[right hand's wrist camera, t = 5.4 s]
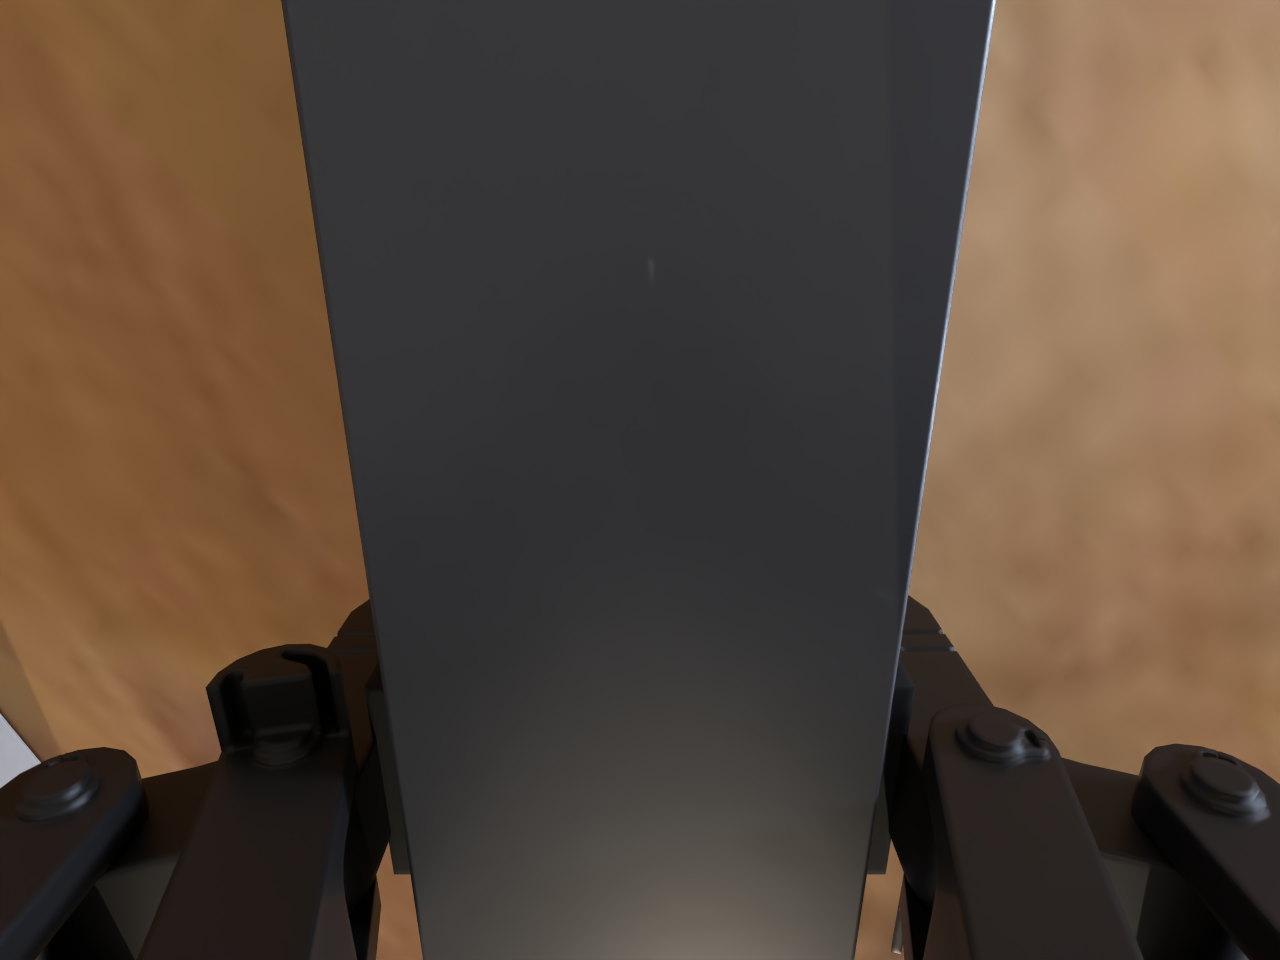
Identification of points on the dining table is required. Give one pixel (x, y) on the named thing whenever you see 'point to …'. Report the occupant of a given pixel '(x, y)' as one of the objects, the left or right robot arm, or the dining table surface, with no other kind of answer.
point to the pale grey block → (13, 754)
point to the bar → (638, 440)
